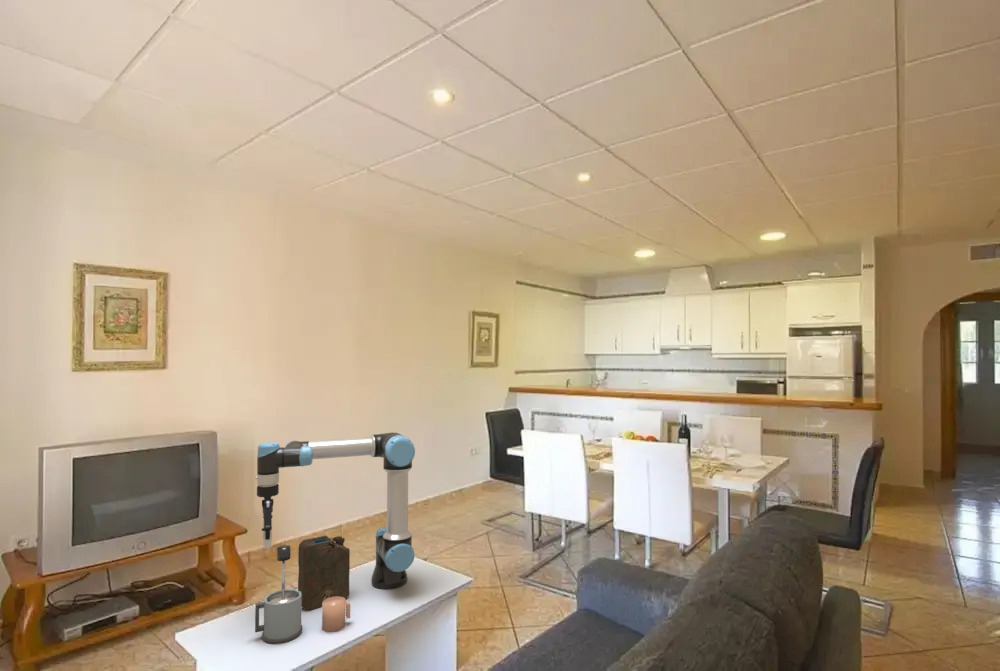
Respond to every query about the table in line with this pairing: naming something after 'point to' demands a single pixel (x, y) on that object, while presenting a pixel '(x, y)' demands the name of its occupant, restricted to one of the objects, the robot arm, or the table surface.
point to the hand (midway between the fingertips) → (267, 542)
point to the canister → (323, 570)
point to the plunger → (283, 577)
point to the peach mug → (334, 613)
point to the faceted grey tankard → (280, 619)
